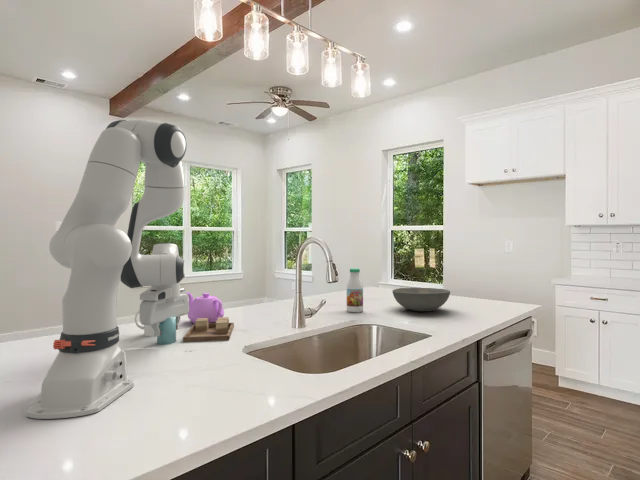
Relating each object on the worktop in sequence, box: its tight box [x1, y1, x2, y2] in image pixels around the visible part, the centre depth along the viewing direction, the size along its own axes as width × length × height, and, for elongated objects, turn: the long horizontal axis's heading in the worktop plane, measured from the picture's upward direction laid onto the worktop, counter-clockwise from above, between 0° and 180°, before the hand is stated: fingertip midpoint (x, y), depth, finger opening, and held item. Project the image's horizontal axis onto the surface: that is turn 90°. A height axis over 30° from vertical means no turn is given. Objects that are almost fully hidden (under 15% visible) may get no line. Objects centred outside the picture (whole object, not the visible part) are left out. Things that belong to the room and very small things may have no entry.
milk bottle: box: [346, 267, 364, 313], centre depth 186 cm, size 8×8×20 cm
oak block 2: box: [218, 316, 230, 330], centre depth 151 cm, size 4×4×4 cm
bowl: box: [392, 287, 451, 312], centre depth 188 cm, size 26×26×10 cm
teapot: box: [186, 291, 225, 324], centre depth 163 cm, size 20×14×12 cm
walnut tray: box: [182, 322, 235, 343], centre depth 144 cm, size 20×15×2 cm
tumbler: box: [156, 316, 177, 345], centre depth 133 cm, size 6×6×9 cm
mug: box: [134, 308, 155, 337], centre depth 144 cm, size 12×8×12 cm
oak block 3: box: [215, 320, 228, 334], centre depth 146 cm, size 4×4×4 cm
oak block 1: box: [196, 318, 208, 332], centre depth 149 cm, size 4×4×4 cm
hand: (166, 332), depth 133 cm, fingers open, 7 cm apart
